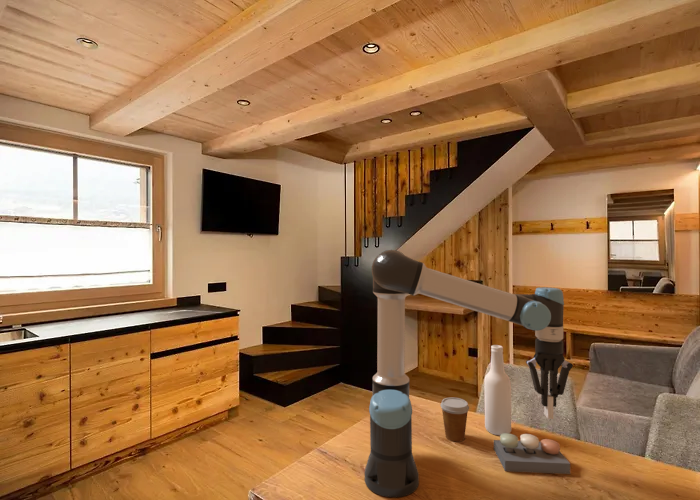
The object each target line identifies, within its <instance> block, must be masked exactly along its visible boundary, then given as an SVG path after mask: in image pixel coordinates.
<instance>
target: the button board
mask: <svg viewBox="0 0 700 500" xmlns="http://www.w3.org/2000/svg"><path fill="white" fill-rule="evenodd" d="M493 450H494V452H495V455H496V456H497V459H498V460H499V462H500V464H501V466H502V467H503V468H502V469H504V471H505V472H515V473H520V472H521V473H535V474H536V473H540V474H541V473H542V474H559V475H571V462H570V461H569V460H568V459H567V458H566V457H565V456H564V454H563V453H562V452H561V451H560V453H559V454H554V455H550V454H546V452H544V451H543V450H542V449H541V441H539V447H538V448H536V449H534V454H526V447H524V446H522V445H521V440H518V447H516V448H513V453H506V452H505V446H503V445H502V444H501V443H500V439H493Z"/></svg>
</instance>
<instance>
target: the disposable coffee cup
mask: <svg viewBox="0 0 700 500" xmlns="http://www.w3.org/2000/svg"><path fill="white" fill-rule="evenodd" d="M440 407H441V411H442V412H441V413H442V418H443V427H444V434H445V438H446V439H447V440H448V441H451V442H463V441H464V440H465V436H466V428H467V420H468V412H469V410H470V406H469V403H468V401H466V400H465V399H463V398H460V397H446V398H443V399H442V400H441V403H440Z"/></svg>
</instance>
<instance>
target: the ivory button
mask: <svg viewBox="0 0 700 500" xmlns="http://www.w3.org/2000/svg"><path fill="white" fill-rule="evenodd" d="M519 437H520V441H521V445H522V446H524V447H526V454H534V449H536V448H538V447H539V442H540V441H539V440H540V439H539V437H537V435H534V434H530V433H522V434H520V436H519Z"/></svg>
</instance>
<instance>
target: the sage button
mask: <svg viewBox="0 0 700 500" xmlns="http://www.w3.org/2000/svg"><path fill="white" fill-rule="evenodd" d="M499 440H500V443H501V444H502V445H503V446H505V452H506V453H513V448H516V447H518V441H519V438H518V436H517V435H515V434H512V433H503V434H501V435H500V436H499Z"/></svg>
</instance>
